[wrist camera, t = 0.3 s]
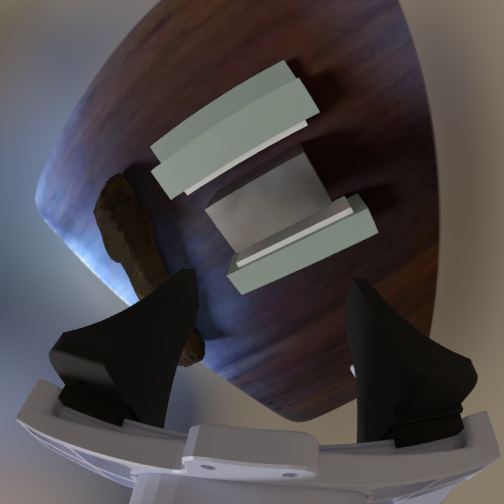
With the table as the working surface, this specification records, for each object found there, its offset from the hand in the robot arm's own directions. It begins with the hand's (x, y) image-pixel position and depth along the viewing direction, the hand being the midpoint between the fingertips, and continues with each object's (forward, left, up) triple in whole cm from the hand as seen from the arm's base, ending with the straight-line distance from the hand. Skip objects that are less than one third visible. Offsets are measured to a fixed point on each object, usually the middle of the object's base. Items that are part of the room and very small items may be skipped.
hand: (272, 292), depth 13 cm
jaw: (-3, 0, -10) cm, 10 cm away
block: (+2, 0, -10) cm, 10 cm away
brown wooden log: (0, +13, -10) cm, 16 cm away
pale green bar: (+6, 0, -10) cm, 12 cm away
